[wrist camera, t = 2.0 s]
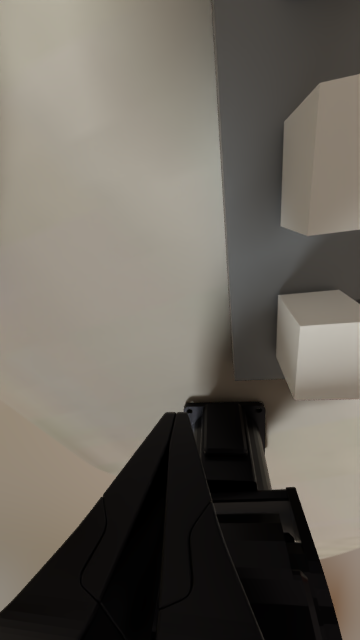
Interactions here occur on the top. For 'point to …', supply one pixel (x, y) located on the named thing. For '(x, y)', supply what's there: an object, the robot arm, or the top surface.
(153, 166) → the top surface
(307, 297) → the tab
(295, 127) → the tab middle
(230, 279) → the switch bank
